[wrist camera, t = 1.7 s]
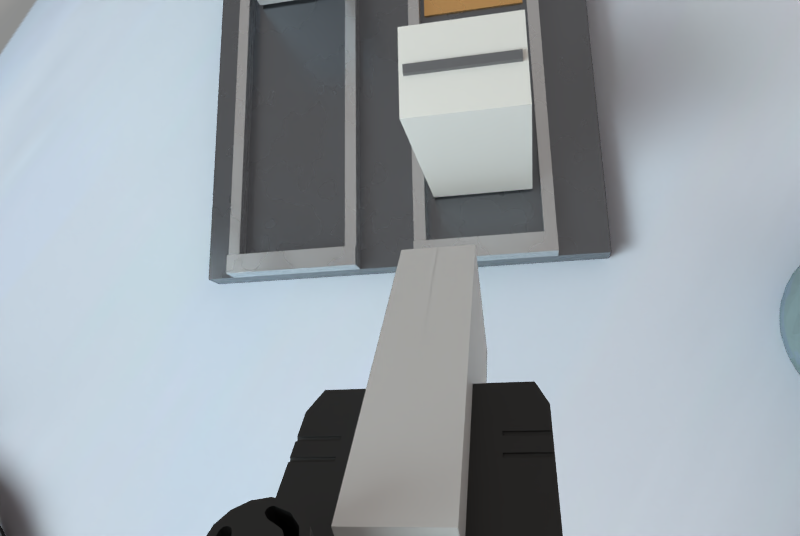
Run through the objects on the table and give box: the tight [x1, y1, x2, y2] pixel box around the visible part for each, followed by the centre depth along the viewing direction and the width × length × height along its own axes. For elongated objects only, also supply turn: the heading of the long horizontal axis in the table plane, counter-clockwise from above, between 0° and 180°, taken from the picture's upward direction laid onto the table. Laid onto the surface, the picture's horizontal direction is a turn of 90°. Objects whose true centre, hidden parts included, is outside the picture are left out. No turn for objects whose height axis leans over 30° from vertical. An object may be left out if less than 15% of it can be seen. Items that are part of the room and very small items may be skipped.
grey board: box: [209, 0, 611, 284], centre depth 36 cm, size 25×21×2 cm
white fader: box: [398, 10, 532, 197], centre depth 29 cm, size 4×5×9 cm
